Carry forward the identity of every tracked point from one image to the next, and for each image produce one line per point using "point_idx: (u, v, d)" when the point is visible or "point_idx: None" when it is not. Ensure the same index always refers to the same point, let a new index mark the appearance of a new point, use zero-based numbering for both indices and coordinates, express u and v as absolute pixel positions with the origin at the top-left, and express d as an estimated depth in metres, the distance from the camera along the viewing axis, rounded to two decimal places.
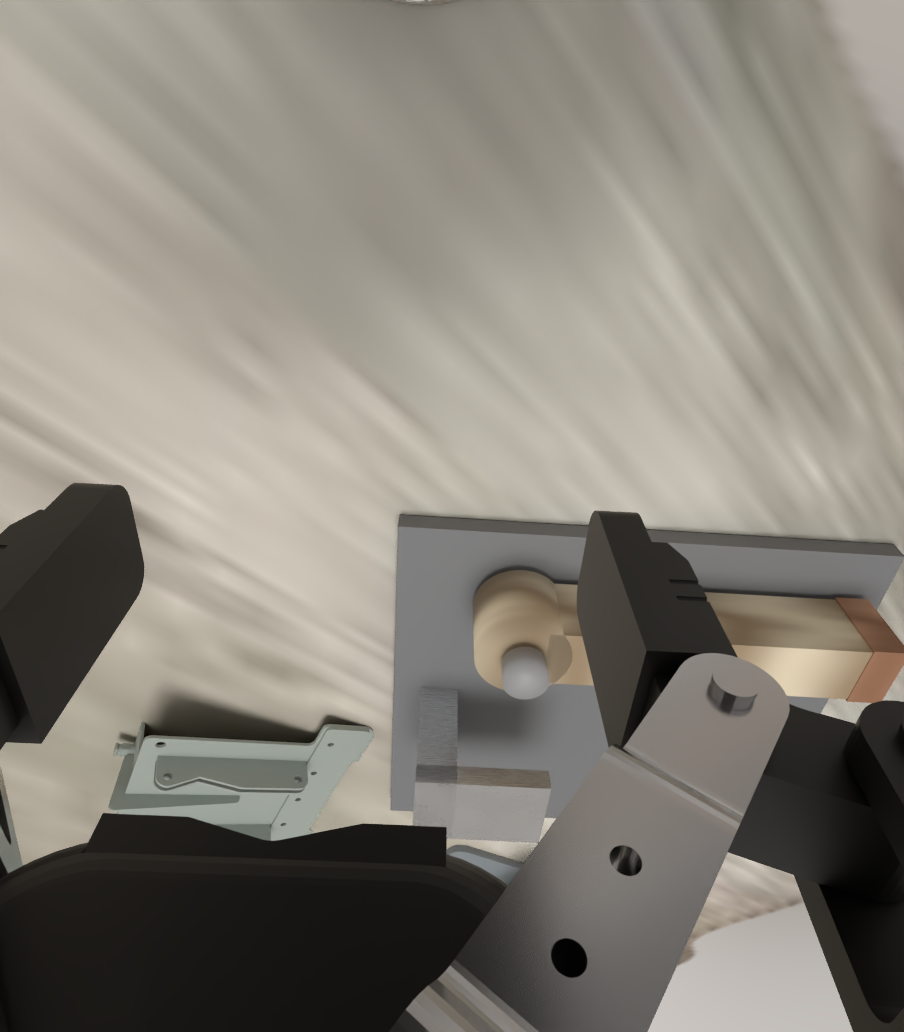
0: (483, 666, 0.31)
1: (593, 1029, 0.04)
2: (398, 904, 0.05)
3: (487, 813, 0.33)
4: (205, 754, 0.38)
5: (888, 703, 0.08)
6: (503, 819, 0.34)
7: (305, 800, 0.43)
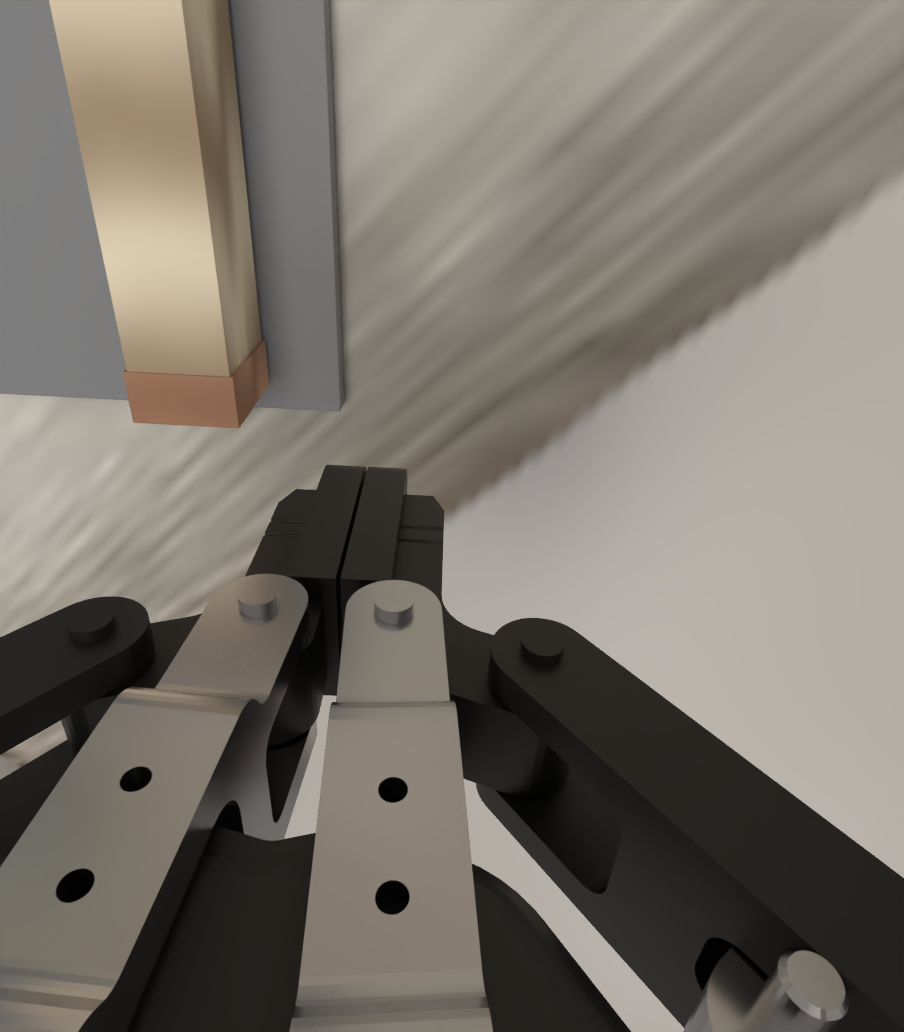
0: None
1: (439, 935, 0.05)
2: None
3: None
4: None
5: (504, 627, 0.08)
6: None
7: None
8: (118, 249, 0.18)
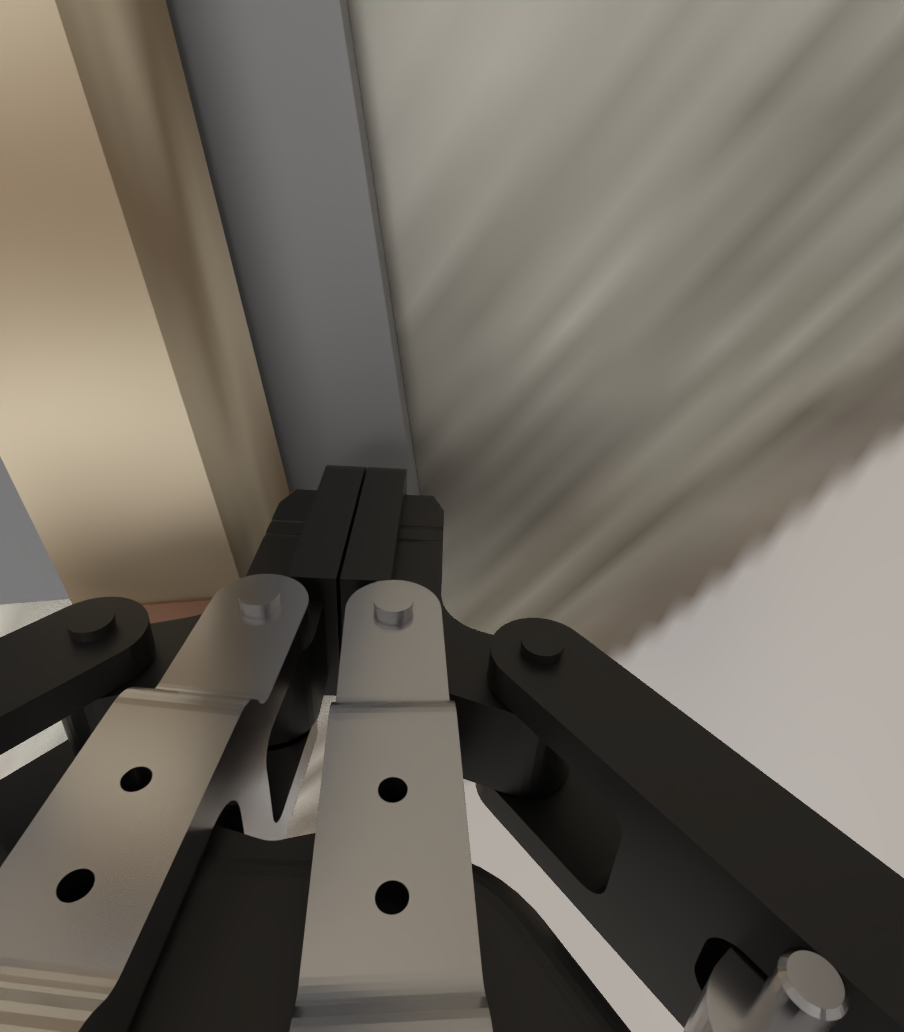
0: None
1: (439, 934, 0.05)
2: None
3: None
4: None
5: (504, 626, 0.08)
6: None
7: None
8: (16, 424, 0.10)
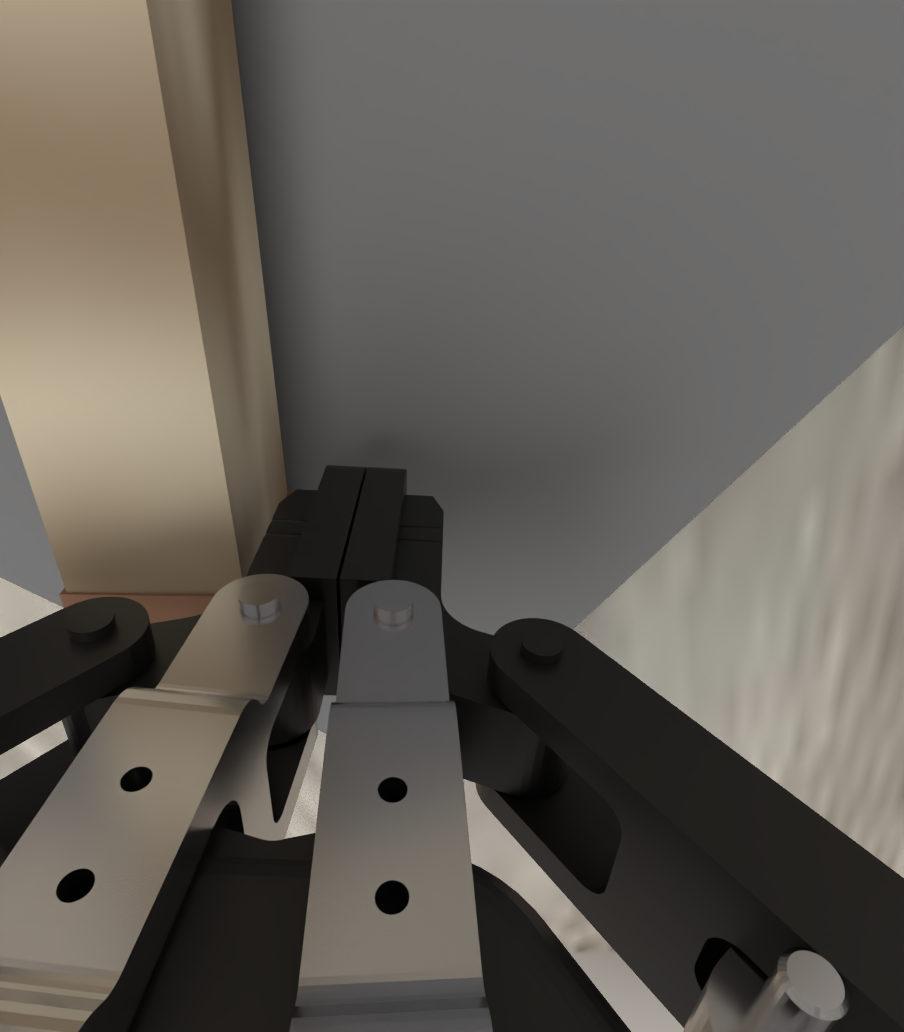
0: None
1: (439, 934, 0.05)
2: None
3: None
4: None
5: (504, 627, 0.08)
6: None
7: None
8: (35, 403, 0.10)
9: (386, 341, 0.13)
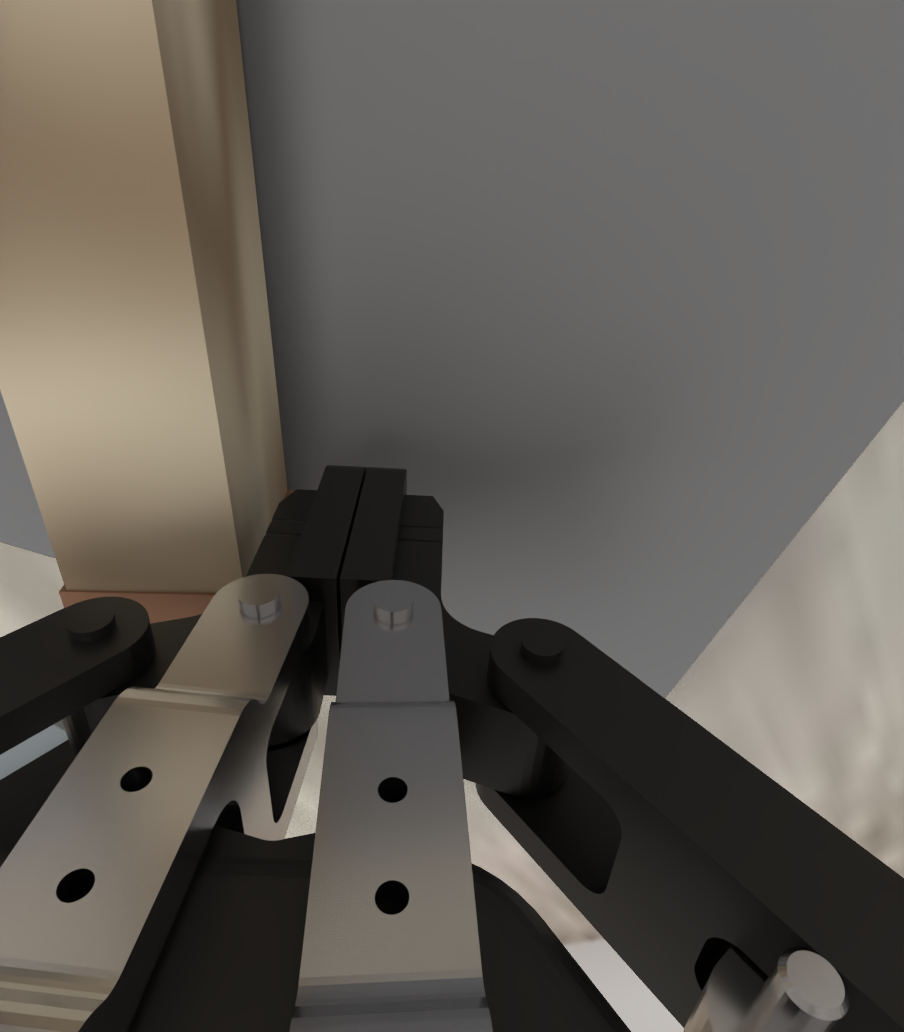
0: None
1: (439, 934, 0.05)
2: None
3: None
4: None
5: (504, 626, 0.08)
6: None
7: None
8: (36, 401, 0.10)
9: (552, 272, 0.13)
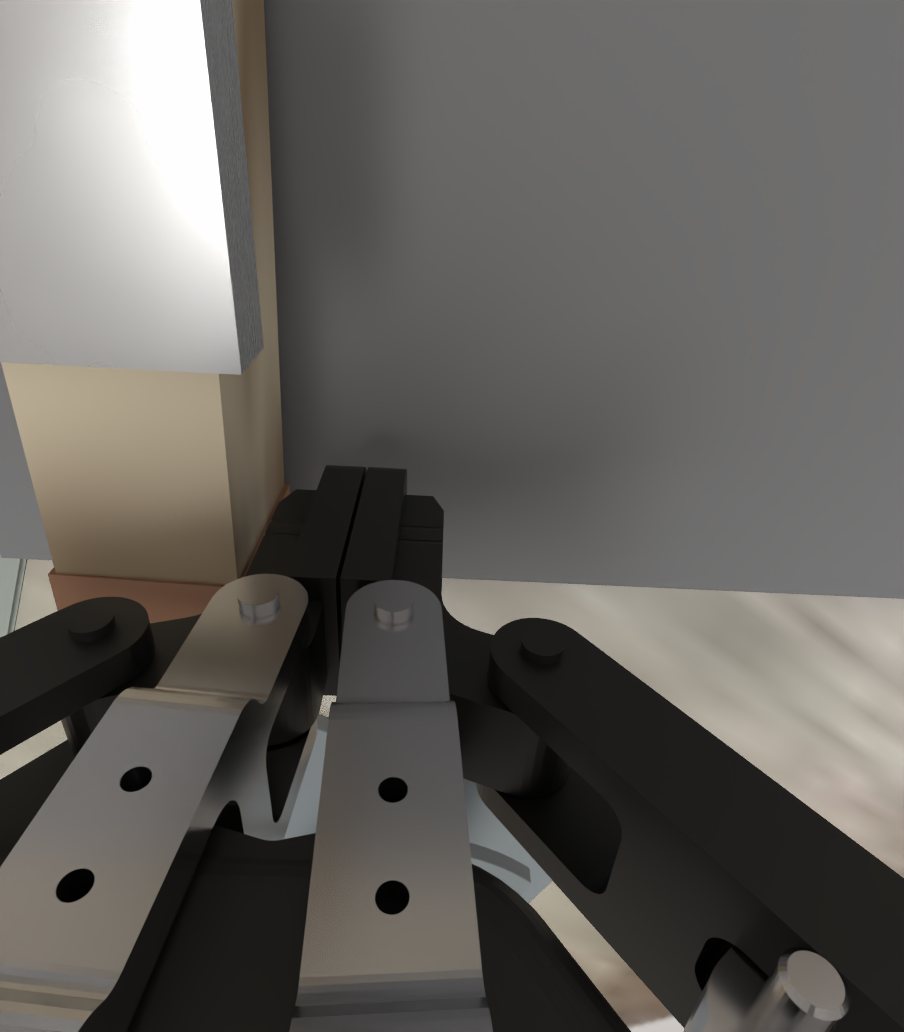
0: None
1: (439, 935, 0.05)
2: None
3: None
4: None
5: (504, 627, 0.08)
6: (6, 174, 0.06)
7: None
8: (38, 379, 0.09)
9: (816, 87, 0.11)
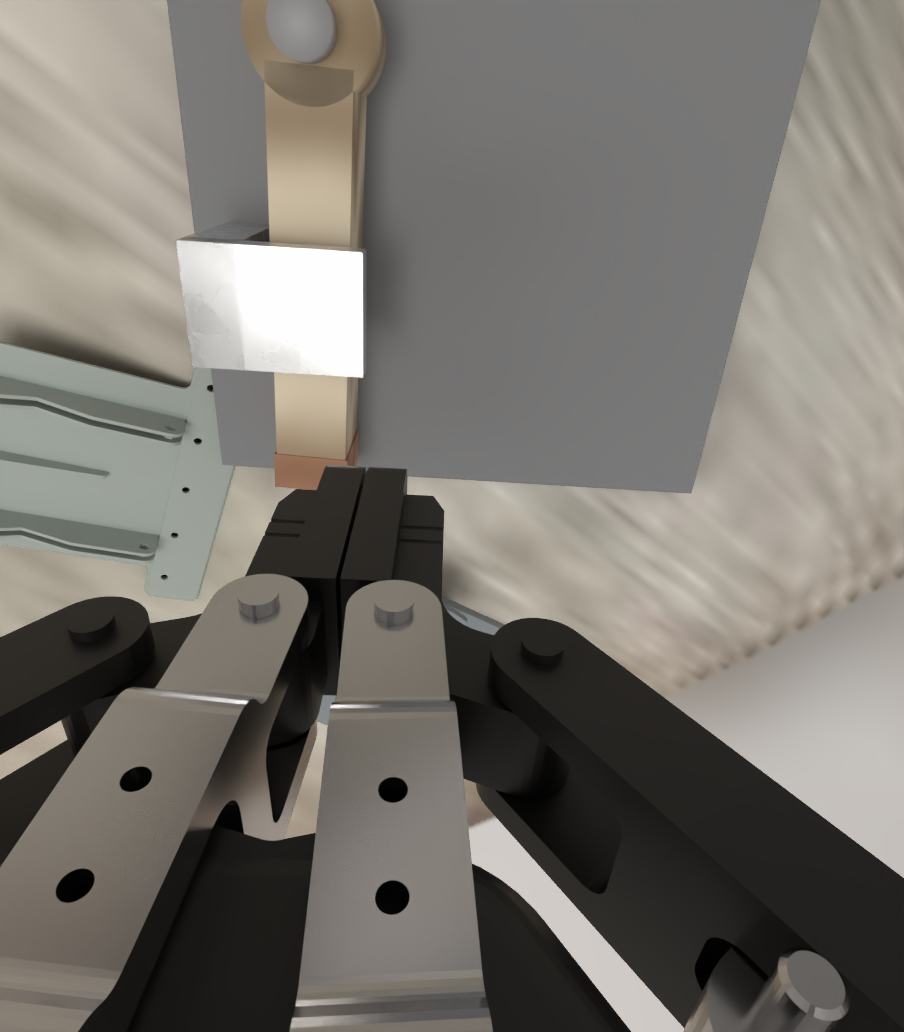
0: None
1: (439, 934, 0.05)
2: None
3: (284, 311, 0.25)
4: (48, 381, 0.31)
5: (505, 626, 0.08)
6: (308, 325, 0.25)
7: (195, 493, 0.36)
8: (285, 379, 0.28)
9: (566, 274, 0.29)
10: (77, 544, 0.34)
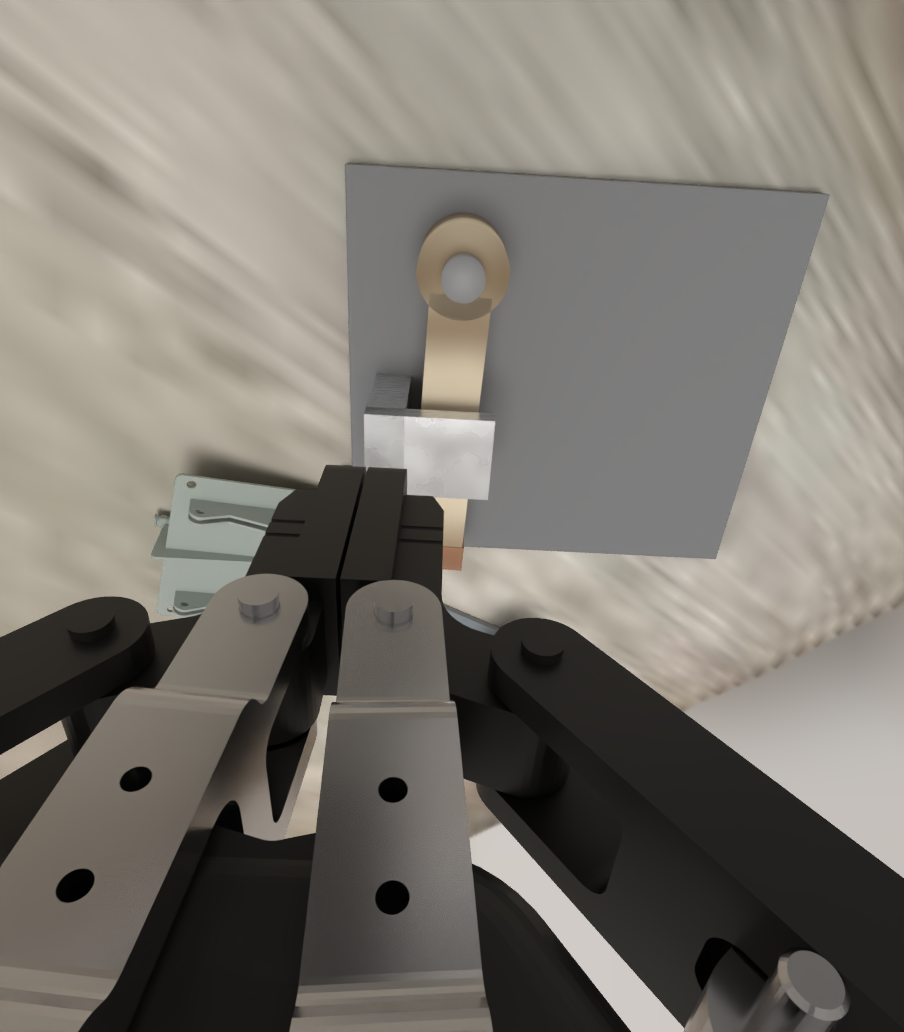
0: (452, 233, 0.31)
1: (439, 934, 0.05)
2: None
3: (435, 458, 0.34)
4: (234, 500, 0.41)
5: (504, 627, 0.08)
6: (451, 466, 0.35)
7: None
8: None
9: (626, 408, 0.39)
10: None
